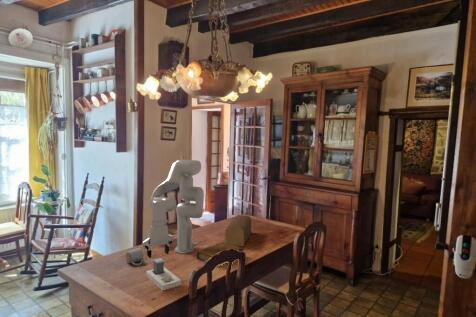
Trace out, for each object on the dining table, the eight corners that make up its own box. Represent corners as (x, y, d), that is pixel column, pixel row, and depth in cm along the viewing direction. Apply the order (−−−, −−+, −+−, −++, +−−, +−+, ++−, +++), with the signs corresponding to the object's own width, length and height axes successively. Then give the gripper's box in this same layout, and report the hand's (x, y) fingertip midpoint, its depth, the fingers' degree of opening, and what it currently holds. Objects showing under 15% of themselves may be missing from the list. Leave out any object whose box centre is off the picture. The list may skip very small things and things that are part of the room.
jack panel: (163, 271, 169) (163, 266, 169) (181, 284, 154) (181, 280, 153) (146, 275, 163) (146, 271, 162) (162, 290, 147) (162, 285, 147)
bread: (251, 232, 243) (252, 215, 242) (244, 247, 209) (244, 227, 208) (234, 231, 245) (234, 213, 244) (224, 245, 212) (224, 225, 211)
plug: (160, 274, 165) (160, 257, 165) (163, 276, 162) (163, 260, 161) (153, 276, 163) (153, 259, 162) (156, 278, 160) (156, 262, 159)
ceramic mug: (124, 261, 180) (124, 249, 180) (138, 258, 186) (138, 245, 185) (132, 267, 173) (132, 254, 172) (146, 264, 178) (146, 251, 178)
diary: (222, 249, 205) (222, 241, 205) (243, 257, 193) (244, 248, 192) (196, 259, 187) (196, 250, 187) (218, 268, 175) (218, 258, 175)
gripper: (170, 219, 169) (169, 250, 169) (140, 224, 158) (139, 256, 158) (177, 222, 163) (176, 254, 164) (145, 227, 152) (145, 261, 153)
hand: (158, 255), depth 161 cm, fingers open, 9 cm apart
